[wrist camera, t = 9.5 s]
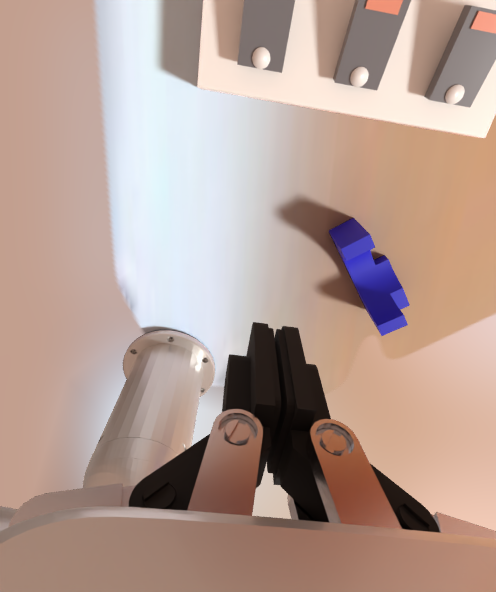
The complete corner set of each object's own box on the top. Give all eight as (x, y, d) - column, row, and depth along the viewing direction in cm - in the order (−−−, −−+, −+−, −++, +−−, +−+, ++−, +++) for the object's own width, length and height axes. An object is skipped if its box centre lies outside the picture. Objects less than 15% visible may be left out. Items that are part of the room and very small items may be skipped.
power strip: (510, 143, 34) (536, 147, 31) (202, 89, 32) (197, 87, 29) (570, 19, 29) (608, 8, 26) (213, -56, 27) (208, -77, 24)
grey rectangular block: (281, 70, 28) (282, 73, 27) (238, 62, 28) (237, 64, 27) (299, -29, 24) (300, -31, 23) (249, -40, 24) (248, -42, 23)
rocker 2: (374, 86, 29) (377, 90, 28) (332, 78, 28) (334, 83, 28) (408, -8, 24) (413, -6, 23) (360, -18, 24) (363, -16, 23)
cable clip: (399, 293, 42) (421, 319, 37) (365, 308, 44) (381, 335, 38) (365, 210, 37) (384, 226, 32) (328, 230, 39) (340, 249, 33)
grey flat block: (464, 103, 29) (470, 108, 28) (424, 96, 29) (429, 100, 28) (510, 14, 25) (520, 15, 24) (464, 4, 25) (472, 5, 24)
